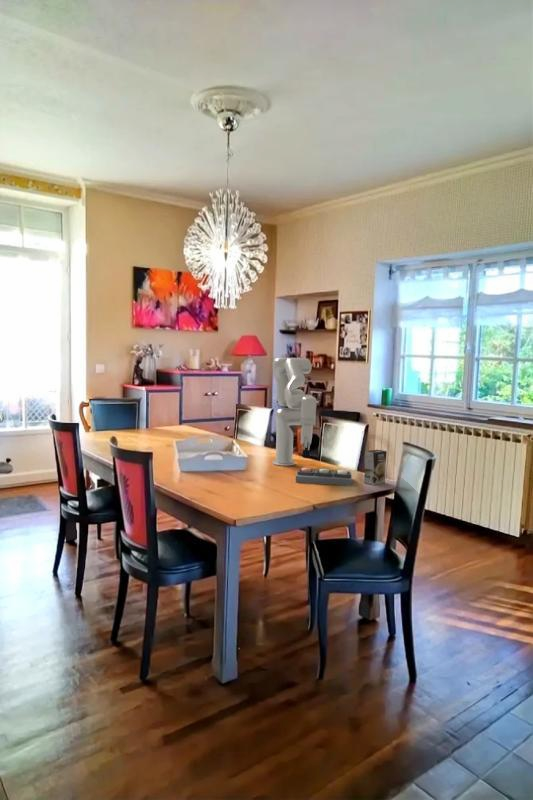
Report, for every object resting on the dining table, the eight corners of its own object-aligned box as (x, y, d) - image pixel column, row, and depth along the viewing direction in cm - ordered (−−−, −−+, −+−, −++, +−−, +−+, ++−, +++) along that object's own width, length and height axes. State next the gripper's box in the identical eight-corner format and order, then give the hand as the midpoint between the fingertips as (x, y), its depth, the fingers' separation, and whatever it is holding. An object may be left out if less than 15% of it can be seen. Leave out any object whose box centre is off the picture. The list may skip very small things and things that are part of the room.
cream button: (337, 473, 267) (337, 469, 266) (347, 474, 266) (347, 470, 266) (337, 475, 262) (337, 471, 261) (347, 476, 261) (347, 472, 261)
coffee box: (373, 485, 258) (375, 452, 257) (363, 482, 263) (365, 450, 262) (385, 482, 264) (387, 450, 263) (375, 480, 269) (376, 448, 267)
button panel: (298, 475, 274) (298, 467, 274) (351, 478, 270) (351, 470, 270) (295, 482, 260) (295, 473, 260) (351, 485, 256) (351, 476, 256)
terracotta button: (301, 471, 269) (301, 467, 269) (311, 471, 268) (311, 467, 268) (300, 473, 264) (300, 469, 264) (310, 474, 264) (310, 470, 263)
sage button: (319, 472, 268) (319, 468, 268) (329, 472, 267) (329, 468, 267) (318, 474, 263) (319, 470, 263) (329, 475, 262) (329, 471, 262)
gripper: (301, 418, 272) (299, 453, 274) (298, 423, 257) (297, 460, 260) (316, 419, 271) (314, 454, 273) (314, 424, 256) (312, 461, 259)
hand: (306, 457), depth 266 cm, fingers closed
